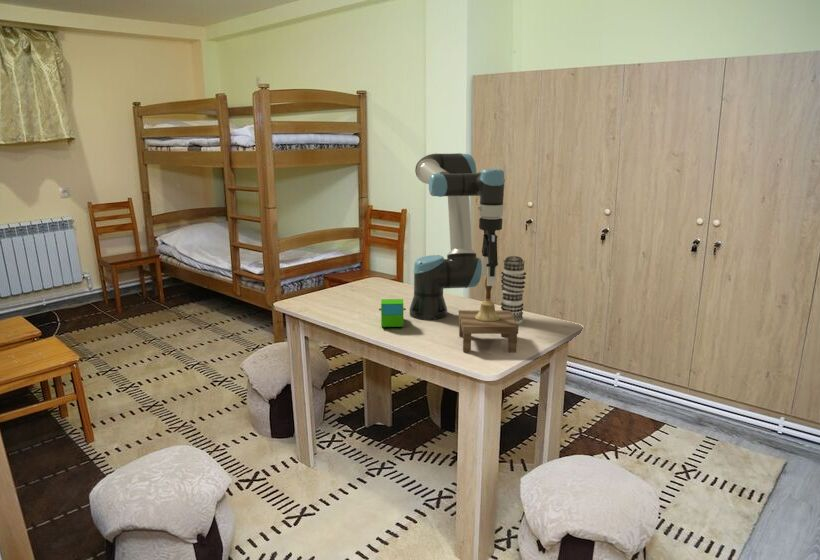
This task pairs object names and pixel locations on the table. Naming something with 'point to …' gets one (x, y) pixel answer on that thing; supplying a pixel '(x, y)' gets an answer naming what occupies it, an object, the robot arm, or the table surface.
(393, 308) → the toy car
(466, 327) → the walnut stool
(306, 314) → the table surface
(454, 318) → the table surface
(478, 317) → the hand bell
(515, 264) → the decorative candle
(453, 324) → the table surface
